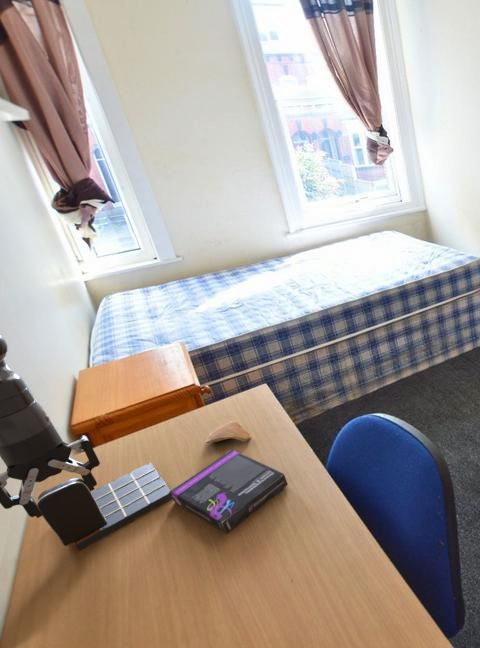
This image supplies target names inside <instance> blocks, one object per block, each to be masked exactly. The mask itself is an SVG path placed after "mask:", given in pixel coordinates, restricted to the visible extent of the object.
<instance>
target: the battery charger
mask: <svg viewBox="0 0 480 648" xmlns="http://www.w3.org/2000/svg"><path fill="white" fill-rule="evenodd" d="M92 492H93V491H90V490H89V488H88V487H87V485H86V483H85V482H84V480H83V478H80V477H74V478H71V479H68V480H66V481H63V482H60V483H58V484H56V485H55V486H52V487H50V488H48V489H46V490H44V491H42V492H40V494H39V495H38V497H37V502H36V504H37V506H38V509H39V511H40V513H41V514H42V516H41V517H42V518H43V519H44V521H45V522H46V523H47V525H48V526H49V527H50V528H51V529H52V531H53V532H54V533H55V534H56V536H57V537H58V538H59V540H60V542H61V544H62V545H63V546H64V547H67V546H69V545H72V544H73V543H74V544H75V542H76V541H78V540H80V539H82V538H84V537H86V536H88V535H89V534H91V533H93V532H95V531H97V530H99V529H100V528H102V527H104V526H106V525H107V523H108V522H107V520H106V518H105V517H104V515H103V514H102V512H101V510H100V508H99V506H98V504H97V502H96V500H95V498H94V496H93V494H92Z"/></svg>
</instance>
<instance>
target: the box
mask: <svg viewBox="0 0 480 648" xmlns="http://www.w3.org/2000/svg"><path fill="white" fill-rule="evenodd" d="M287 486H288V481H287V477H286V475H285V473H283V472H281V471H279V470H276V469H275V468H272V467H270V466H268V465H266V464H264V463H262V462H259V461H258V460H256V459H254V458H251V457H249V456H247V455H244V454H242V453H241V452H238V451H236V450H235V449H230V450H228V451H227V452H226V453H225V454H223V455H222V456H220V457H219V458H217V459H216V460H215V461H213V462H211V463H210V464H208V465H207V466H205V467H204V468H202V469H201V470H200V471H197V473H195V474H194V475H192V476H191V477H189V478H188V479H186V480H185V481H184V482H182V483H180V484H179V485H177V486H176V487H174V488H172V489H170V490H171V491H170V492H169V493H170V495H171V496H172V500H173V502H174V503H176V504H178V505H179V506H180V507H182V508H184V509H186V510H187V511H188V512H190V513H192V514H194V515H195V516H197V517H199V518H200V519H201V520H203V521H205V522H207V523H209V524H210V525H212V526H213V527H214V528H216V529H218V530H220V531H222V532H223V533H225V534H228V533H230V531H232V530H234V528H236V527H237V526H238V525H239V524H240V523H242V522H243V521H244V520H245V519H247V518H248V517H249V516H250V515H252V514H253V513H254V512H256V511H257V510H258V509H260V507H262V506H263V505H264V504H265V503H267V502H268V501H270V499H272V498H273V497H274V496H276V494H278V493H279V492H280V491H281V490H283V489H284V488H286V487H287Z"/></svg>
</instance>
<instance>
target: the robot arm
mask: <svg viewBox="0 0 480 648" xmlns="http://www.w3.org/2000/svg"><path fill="white" fill-rule="evenodd" d="M8 349H9V347H8V343H7V341H6V338H5V337H3V335H1V334H0V459H1V460H2V461H3V463H4V464H5V465H6V470H5V471H3V472H2V473H0V505H1V506H2V507H3V509H4V510H5V509H6V510H9V509H11V508H13V507H15V506H22V508H23V509H24V511H25V512H26V514H27V515H28V516H29V517H31V518H34V517H36V519H39V518H41V517H43V516H42V514H41V513H40V511H39V509H38V506H37V502H36V500H35V499H34V498H33V496H32V492H33V491H34V487H35V484H36V483H41V482H44V481H45V480H47V479H49V478H50V477H54V476H57V475H59V474H61V473H62V472H63V471H65V472H68V473H71V474H72V473H73V474H77V475H80V476H81V479H82V480H83V481H84V482H85V483H86V485H87V487H88V488H89V490H90V491H91V492H93V491H95V490H96V488H95V487H96V486H97V485H98V482H97V480H96V478H95V476H94V475H93V473H92V471H93V469H95V468H97V467H99V466H100V464H101V462H100V460H99V458H98V455H97V454H96V451H95V450H94V447H93V446H92V444H91V441H90V440H89V438H88V436H86V435H82V436H80V437H79V438H78V440H75V441H73V442H70V443H67V442H64V441H63V439H62V437H61V436H60V434H59V432H58V430H57V429H56V428H55V426H54V424H53V422H52V421H51V419H50V417H49V415H48V414H47V413H46V411H45V409H44V408H43V407H42V405H41V404H40V403H39V402H38V400H37V399H36V398H35V396H34V395H33V392H32V391H31V390H30V388H29V386H28V384H27V383H26V382H25V380H24V379H23V378H22V377H21V376H20V374H18V373H17V372H15V371H14V370H12V368H10V367H9V365H8V364H7V362H6V361H5V357H6V356H7V354H8ZM73 450H76V451H77V453H78V452H79V453H82V452H84V454H85V456H86V457H87V459H88V460H87V461H86V462H85V463H83V462H80V461H77V460H75V459H74V458H72V457H70V456H71V454H72V451H73ZM9 478H10V479H13V480H14V479H15V480H19V481H20V488H19V490H18V494H16V495H11V493H10V492H9V491H8V490H7V489H6V488H5V487H6V486H7V485H8V481H7V480H8V479H9Z"/></svg>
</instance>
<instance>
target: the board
mask: <svg viewBox="0 0 480 648" xmlns="http://www.w3.org/2000/svg"><path fill="white" fill-rule="evenodd" d="M171 490H172V489H170V487H169V486H168V485H167V483H166V482H165V480H164V479H163V478H162V476H161V474H159V472H158V471H157V469H156V468H155V466H154V465H153V463H152V462H148V463H147V464H144V465H143V466H140V467H138V468H137V469H134V470H133V471H130V472H128V473H127V474H124V475H123V476H120V477H119V478H116V479H114V480H113V481H111V482H108V483H107V484H105V485H102V486H101V487H98V488H97V489H94V490H92V491H91V492H92V494H93V496H94V498H95V500H96V502H97V504H98V506H99V508H100V510H101V512H102V514H103V515H104V517H105V518H106V520H107V522H108V523H107V525H106V526H104V527H102V528H100V529H99V530H97V531H95V532H93V533H91V534H89V535H88V536H86V537H84V538H82V539H80V540H78V541H76V542H74V545H75V547H76V548H77V550H78V551H81V550H83V549H85V548H86V547H88V546H90V545H92V544H94V543H95V542H97V541H99V540H101V539H102V538H105V537H106V536H108V535H110V534H111V533H113V532H115V531H117V530H118V529H121V528H123V527H124V526H126V525H128V524H130V523H131V522H132V521H134V520H136V519H138V518H140V517H142V516H143V515H145V514H147V513H149V512H150V511H152V510H154V509H156V508H158V507H159V506H161V505H163V504H165V503H167V502H168V501H170V500H173V498H172V496H171V495H170V493H169V492H170V491H171Z"/></svg>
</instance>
